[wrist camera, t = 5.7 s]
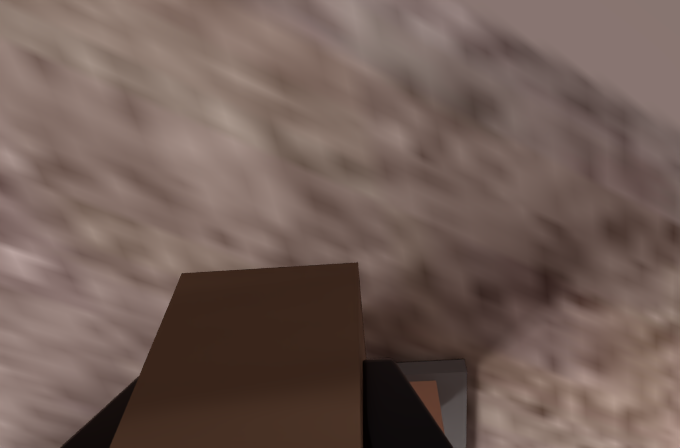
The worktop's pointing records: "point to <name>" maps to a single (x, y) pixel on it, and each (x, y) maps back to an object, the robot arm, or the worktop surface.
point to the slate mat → (445, 393)
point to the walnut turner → (254, 363)
